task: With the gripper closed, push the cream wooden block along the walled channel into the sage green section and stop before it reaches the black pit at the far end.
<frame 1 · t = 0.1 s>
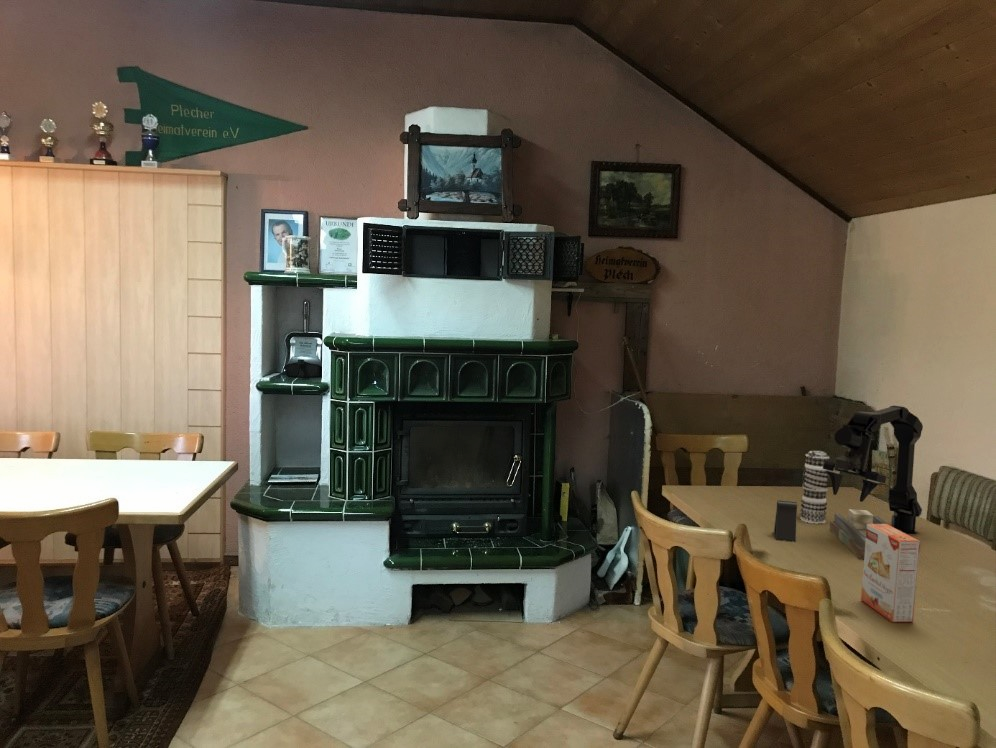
hand: (847, 498, 245), 15 cm above the table, tool pointing down, fingers open, 9 cm apart
decorative candle: (812, 521, 274), on the table
cream block: (859, 526, 257), point 3 cm above the table, touching channel board
channel board: (869, 544, 248), on the table
cracker box: (885, 612, 194), on the table
phone stand: (784, 537, 253), on the table
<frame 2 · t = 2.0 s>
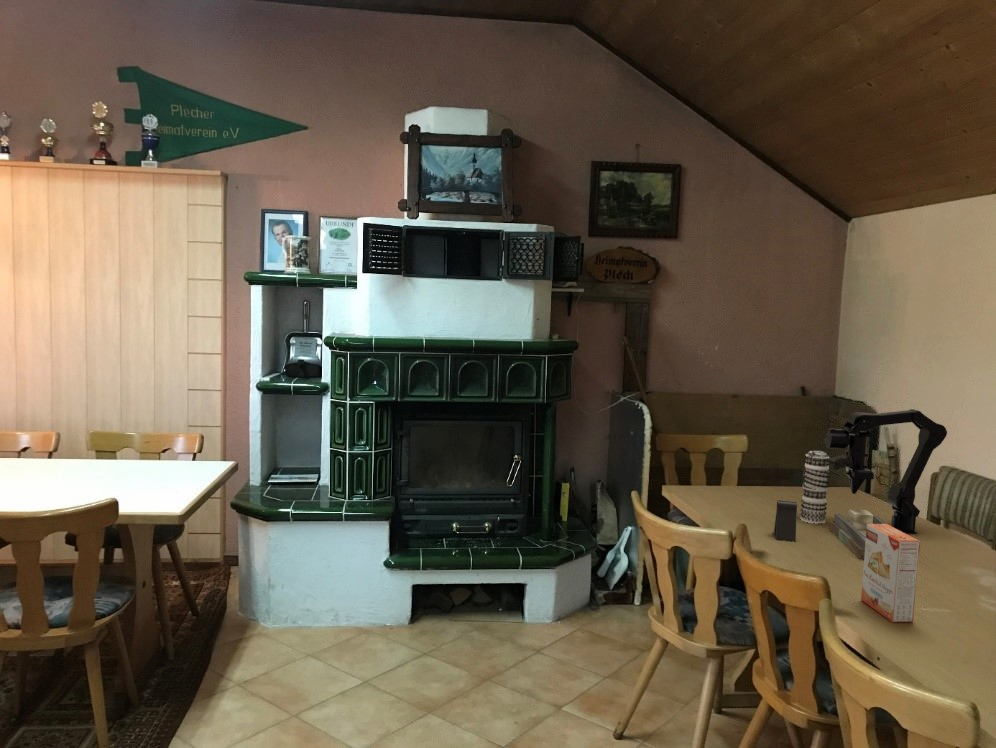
hand: (853, 493, 265), 12 cm above the table, tool pointing down, fingers closed
nothing on the table moved.
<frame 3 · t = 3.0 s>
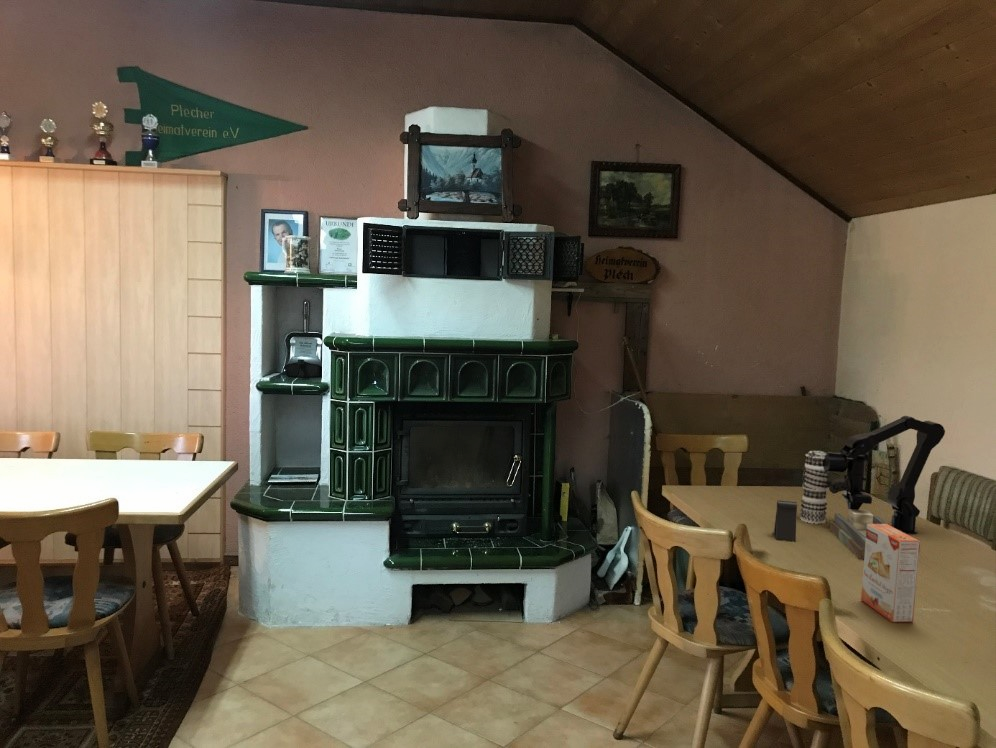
hand: (851, 516, 266), 4 cm above the table, tool pointing down, fingers closed
nothing on the table moved.
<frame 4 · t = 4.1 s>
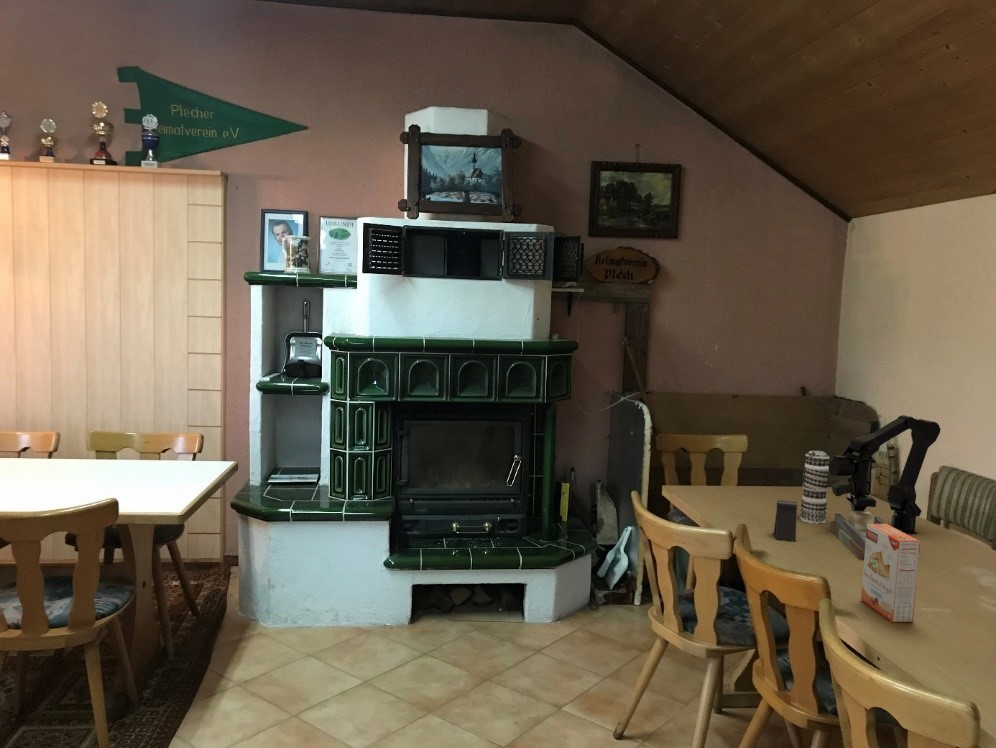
hand: (855, 520, 261), 4 cm above the table, tool pointing down, fingers closed
cream block: (860, 527, 256), point 3 cm above the table, touching gripper
everything else where it was.
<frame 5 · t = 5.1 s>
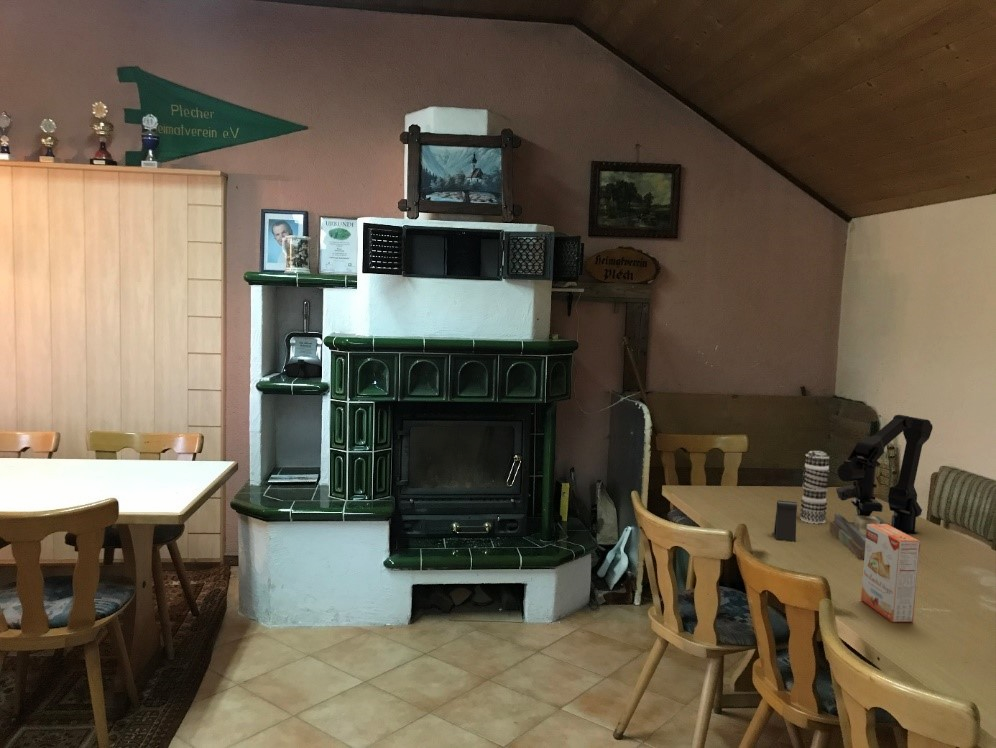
hand: (861, 524, 256), 4 cm above the table, tool pointing down, fingers closed
cream block: (865, 532, 251), point 3 cm above the table, touching gripper
everything else where it was.
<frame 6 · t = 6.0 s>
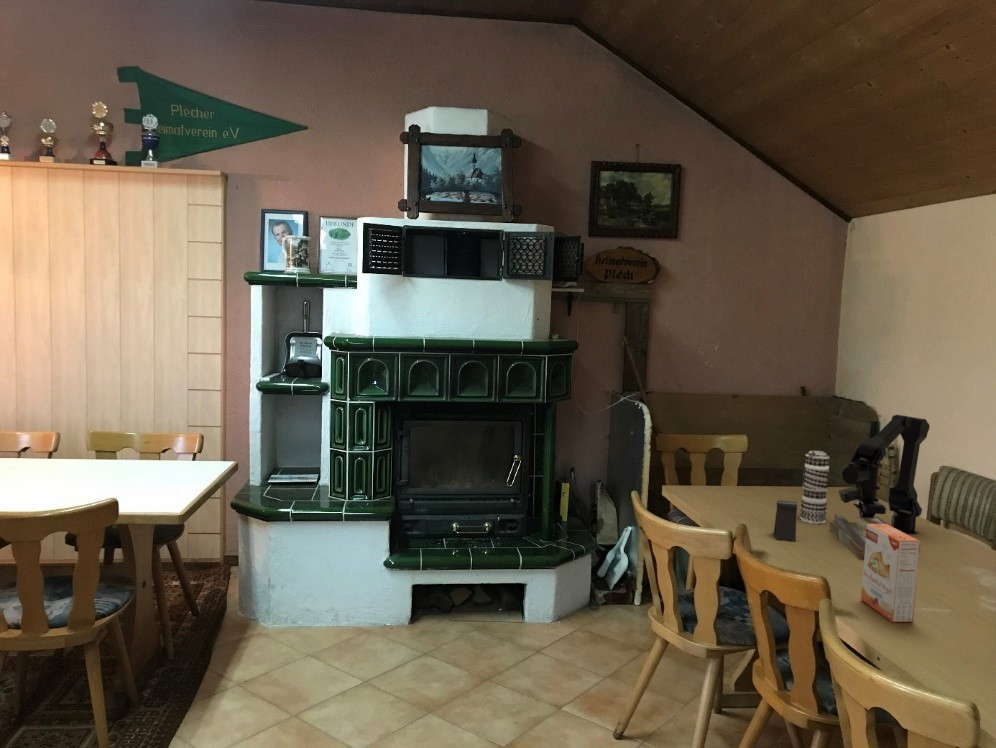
hand: (864, 527, 253), 4 cm above the table, tool pointing down, fingers closed
cream block: (868, 535, 248), point 3 cm above the table, touching channel board, gripper
everything else where it was.
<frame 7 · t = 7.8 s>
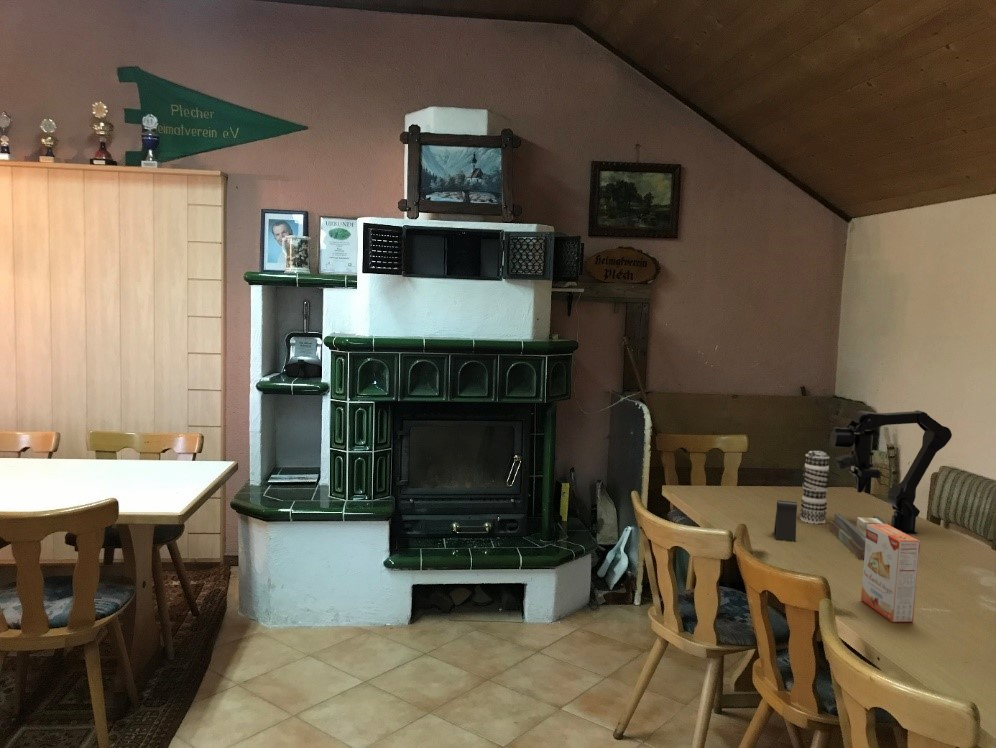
hand: (859, 492, 265), 13 cm above the table, tool pointing down, fingers closed
cream block: (868, 535, 248), point 3 cm above the table, touching channel board
everything else where it was.
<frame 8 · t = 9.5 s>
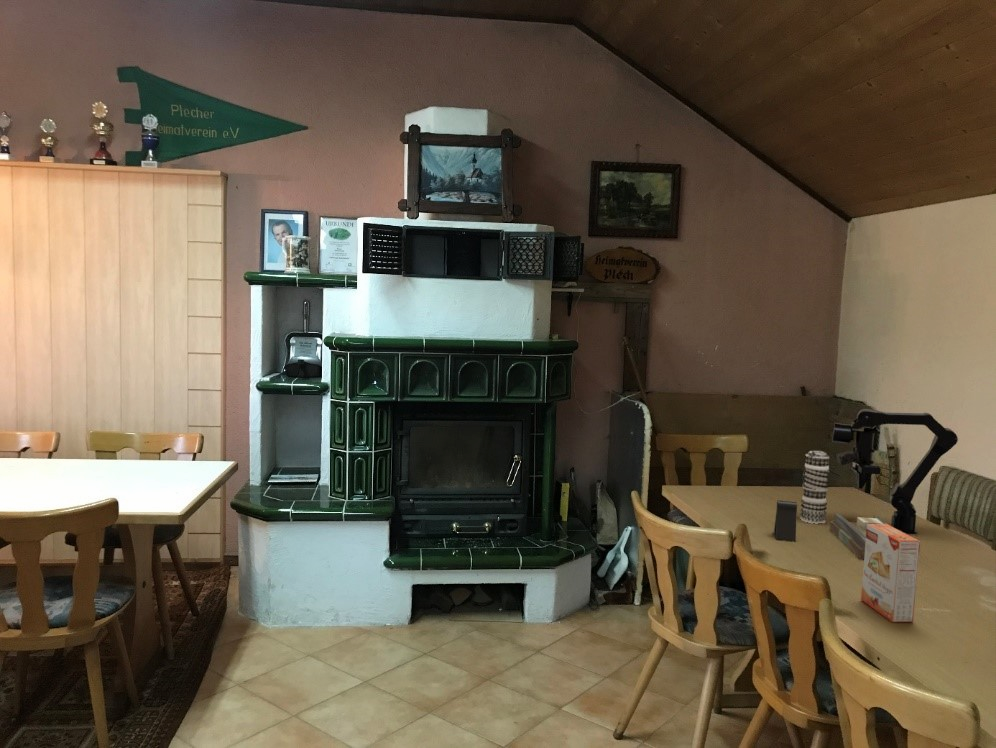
hand: (860, 488, 270), 13 cm above the table, tool pointing down, fingers closed
nothing on the table moved.
at the end: cream block inside the target area (0.2 cm from its centre), point 3.0 cm above the table; cream block tilted 0° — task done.
